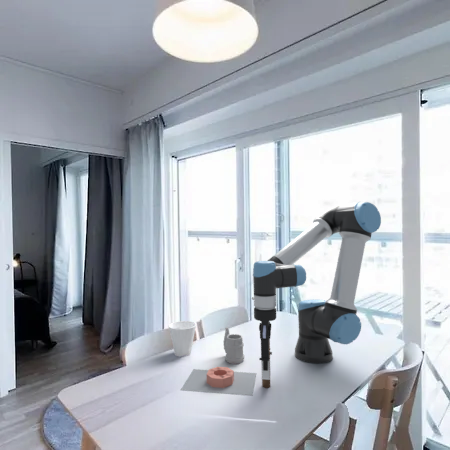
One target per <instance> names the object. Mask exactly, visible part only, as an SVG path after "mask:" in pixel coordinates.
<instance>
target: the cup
mask: <svg viewBox="0 0 450 450" xmlns="http://www.w3.org/2000/svg"><path fill="white" fill-rule="evenodd" d="M196 326H197V323H196V322H194V321H189V320H180V321H174V322H172V323H169V325H168V329H169V334H170V338H171V342H172V347H173V352H174V355H175V356H176V357H178V358H179V357H180V358H182V357H185V356H187V357H188V356H190V355H191V354H192V349H193V343H194V339H195V332H196V328H197V327H196Z"/></svg>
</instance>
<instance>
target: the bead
mask: <svg viewBox="0 0 450 450" xmlns="http://www.w3.org/2000/svg"><path fill="white" fill-rule="evenodd" d="M207 370H208V372H207V383H208V384H209V385H210V386H212V387H217V388H225V387H227V386H230V385H232V384H233V381H234V372H235V371H234V370H233V369H231V368H229V367H228V366H216V367H212V368H209V369H207Z"/></svg>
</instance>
